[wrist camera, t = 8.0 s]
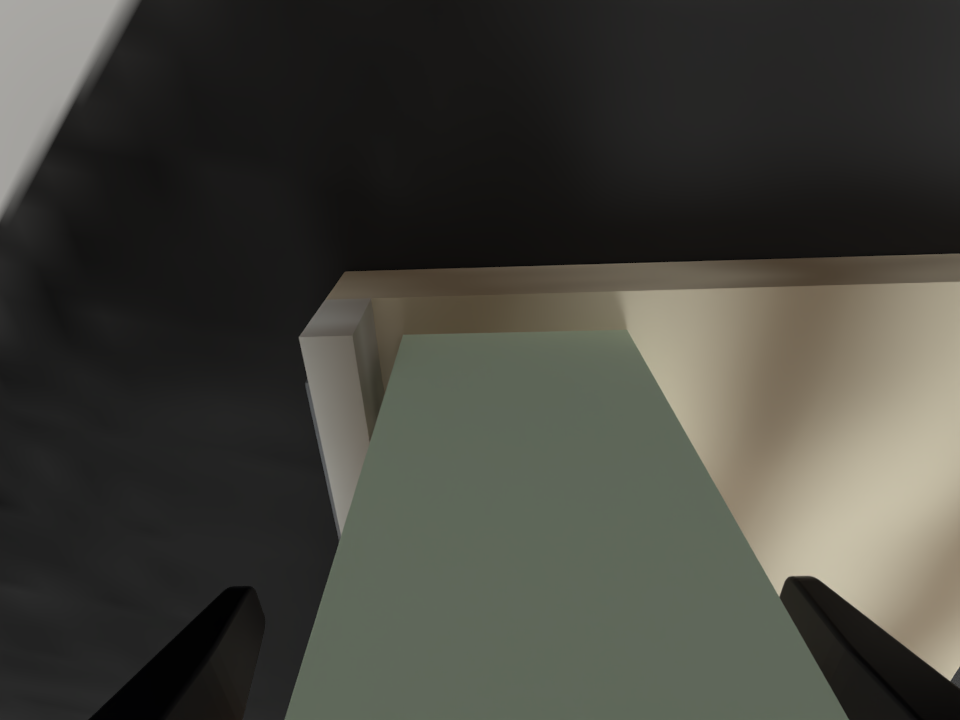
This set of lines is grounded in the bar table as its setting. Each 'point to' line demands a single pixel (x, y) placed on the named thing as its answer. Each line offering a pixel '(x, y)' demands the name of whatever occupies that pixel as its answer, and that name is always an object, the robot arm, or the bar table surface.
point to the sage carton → (545, 553)
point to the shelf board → (729, 400)
